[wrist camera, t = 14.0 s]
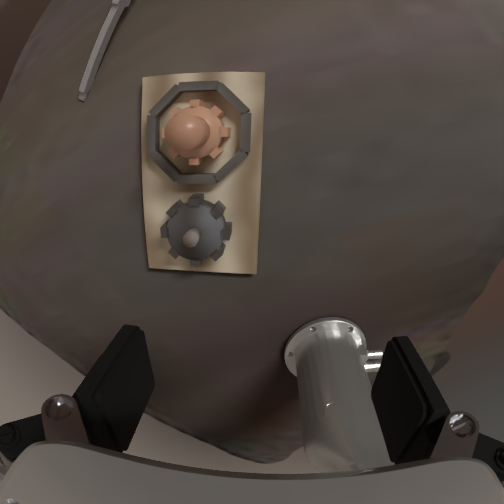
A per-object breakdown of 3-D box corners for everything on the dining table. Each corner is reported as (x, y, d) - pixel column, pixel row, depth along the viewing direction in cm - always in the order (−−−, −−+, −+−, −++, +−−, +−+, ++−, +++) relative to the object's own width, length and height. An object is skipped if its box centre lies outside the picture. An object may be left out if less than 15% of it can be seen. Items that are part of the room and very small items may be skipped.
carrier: (265, 74, 30) (265, 62, 24) (256, 269, 39) (255, 294, 33) (146, 78, 30) (125, 70, 24) (152, 264, 39) (135, 286, 33)
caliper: (153, -30, 24) (136, -50, 18) (159, -29, 24) (143, -49, 18) (80, 99, 31) (52, 97, 25) (86, 102, 31) (58, 100, 25)
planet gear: (231, 101, 30) (222, 93, 23) (229, 162, 33) (220, 170, 26) (170, 103, 30) (146, 97, 23) (170, 162, 33) (146, 171, 26)
